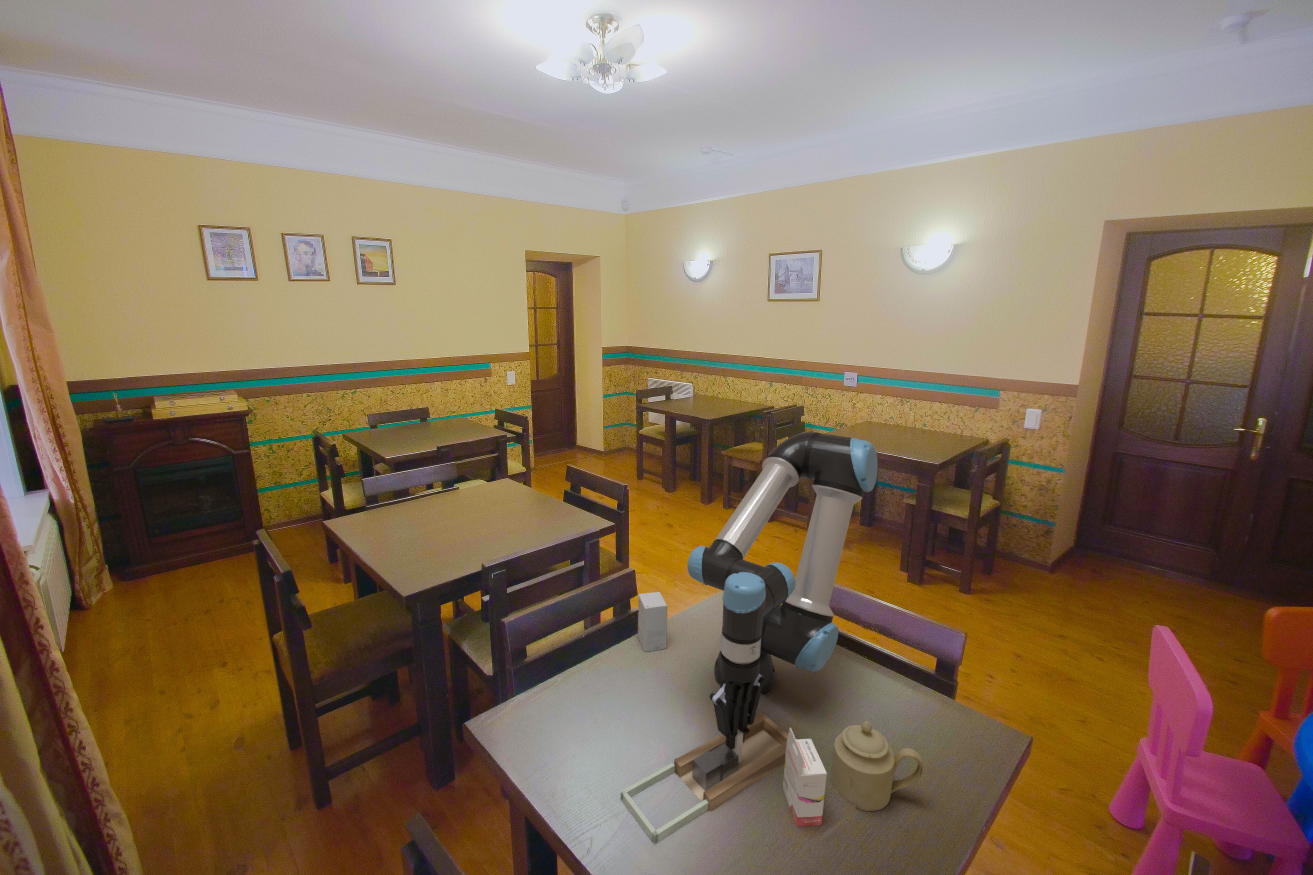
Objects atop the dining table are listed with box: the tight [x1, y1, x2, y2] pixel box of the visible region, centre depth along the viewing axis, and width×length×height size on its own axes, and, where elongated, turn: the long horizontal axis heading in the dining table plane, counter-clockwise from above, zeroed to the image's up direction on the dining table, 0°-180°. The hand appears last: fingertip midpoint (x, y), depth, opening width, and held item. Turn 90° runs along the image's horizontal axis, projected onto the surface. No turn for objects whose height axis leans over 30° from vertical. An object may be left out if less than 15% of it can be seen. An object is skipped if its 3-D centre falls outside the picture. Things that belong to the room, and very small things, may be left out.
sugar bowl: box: [830, 720, 925, 812], centre depth 107 cm, size 15×11×15 cm
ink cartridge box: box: [782, 727, 828, 827], centre depth 102 cm, size 9×5×15 cm, turn 5°
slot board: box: [673, 712, 789, 812], centre depth 113 cm, size 11×24×4 cm, turn 125°
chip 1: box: [692, 751, 722, 791], centre depth 108 cm, size 4×4×4 cm
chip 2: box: [710, 743, 739, 781], centre depth 110 cm, size 4×4×4 cm
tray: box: [620, 762, 709, 845], centre depth 103 cm, size 11×12×2 cm
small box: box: [637, 591, 668, 652], centre depth 153 cm, size 8×6×13 cm
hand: (734, 758), depth 112 cm, fingers closed
